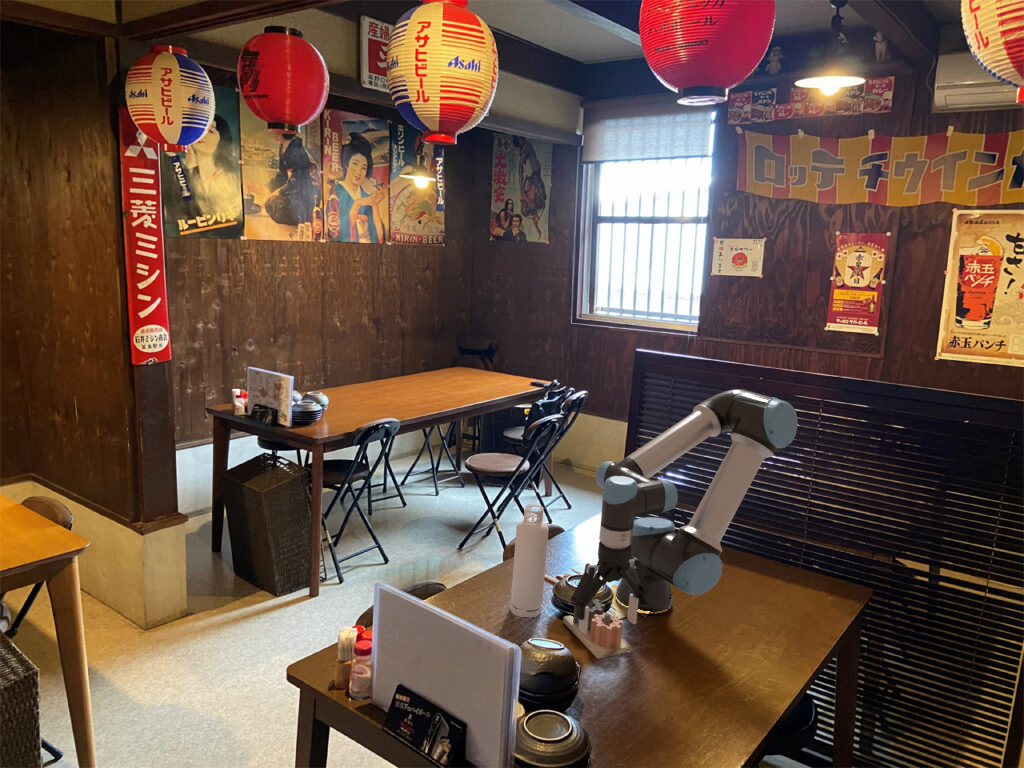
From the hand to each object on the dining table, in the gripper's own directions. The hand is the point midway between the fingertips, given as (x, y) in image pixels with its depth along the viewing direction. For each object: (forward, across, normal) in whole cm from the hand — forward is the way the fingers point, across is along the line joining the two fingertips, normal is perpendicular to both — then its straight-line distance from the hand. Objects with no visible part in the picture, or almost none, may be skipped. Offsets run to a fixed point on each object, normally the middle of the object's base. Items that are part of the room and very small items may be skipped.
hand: (607, 626), depth 175 cm
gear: (+3, 0, 0) cm, 4 cm away
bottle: (+5, -11, +21) cm, 24 cm away
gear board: (+5, 0, +4) cm, 6 cm away
